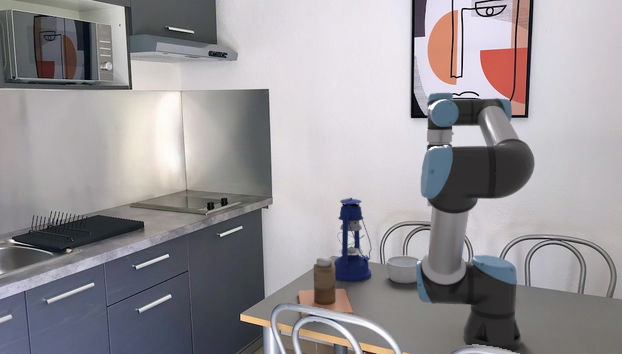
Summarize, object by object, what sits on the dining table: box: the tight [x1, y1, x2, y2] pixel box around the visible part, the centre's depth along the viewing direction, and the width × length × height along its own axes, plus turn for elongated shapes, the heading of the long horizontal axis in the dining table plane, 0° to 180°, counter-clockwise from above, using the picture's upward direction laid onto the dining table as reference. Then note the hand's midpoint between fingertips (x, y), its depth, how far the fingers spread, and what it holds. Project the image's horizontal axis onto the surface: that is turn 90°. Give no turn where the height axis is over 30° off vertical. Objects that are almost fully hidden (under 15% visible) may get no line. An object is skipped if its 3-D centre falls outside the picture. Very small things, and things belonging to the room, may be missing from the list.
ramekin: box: [385, 254, 422, 284], centre depth 198 cm, size 13×13×7 cm
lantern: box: [333, 197, 372, 283], centre depth 201 cm, size 17×15×30 cm
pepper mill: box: [313, 256, 336, 305], centre depth 173 cm, size 7×7×14 cm
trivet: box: [298, 288, 354, 317], centre depth 175 cm, size 20×16×2 cm
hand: (438, 210), depth 167 cm, fingers open, 13 cm apart
